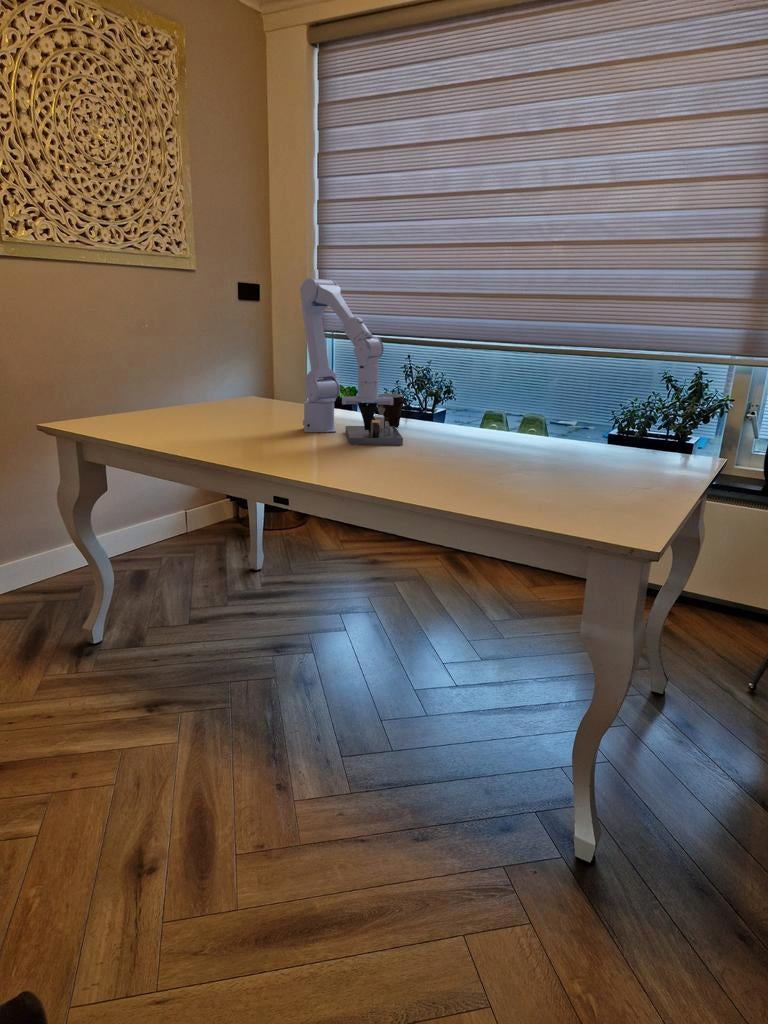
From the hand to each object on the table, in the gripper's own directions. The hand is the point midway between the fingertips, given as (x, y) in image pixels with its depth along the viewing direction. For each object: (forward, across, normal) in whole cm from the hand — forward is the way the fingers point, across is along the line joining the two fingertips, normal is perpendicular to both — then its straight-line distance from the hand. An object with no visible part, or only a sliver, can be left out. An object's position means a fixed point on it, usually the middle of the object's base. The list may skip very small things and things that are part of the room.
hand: (367, 429), depth 191 cm
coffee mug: (+3, +10, +21) cm, 23 cm away
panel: (+3, +2, +2) cm, 5 cm away
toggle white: (+1, +5, +9) cm, 10 cm away
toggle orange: (+1, +2, 0) cm, 3 cm away
